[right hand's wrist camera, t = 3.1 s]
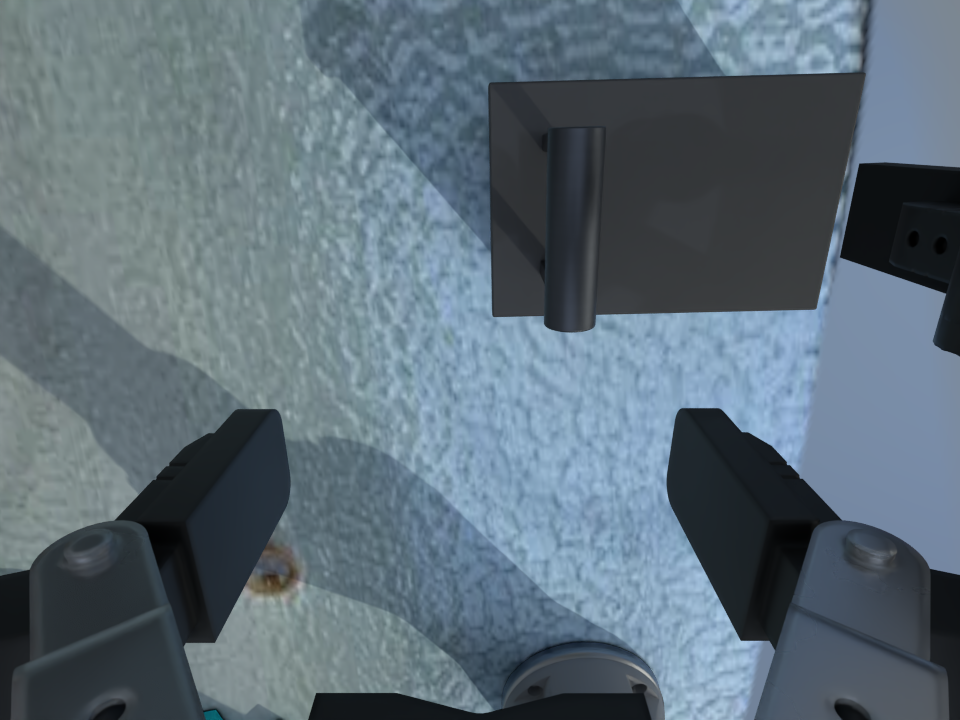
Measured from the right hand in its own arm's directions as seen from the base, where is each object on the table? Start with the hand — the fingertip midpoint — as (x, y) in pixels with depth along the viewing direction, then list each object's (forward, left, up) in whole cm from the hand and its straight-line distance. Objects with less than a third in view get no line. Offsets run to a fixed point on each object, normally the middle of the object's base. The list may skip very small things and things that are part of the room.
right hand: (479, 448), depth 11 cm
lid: (-2, +9, -17) cm, 19 cm away
